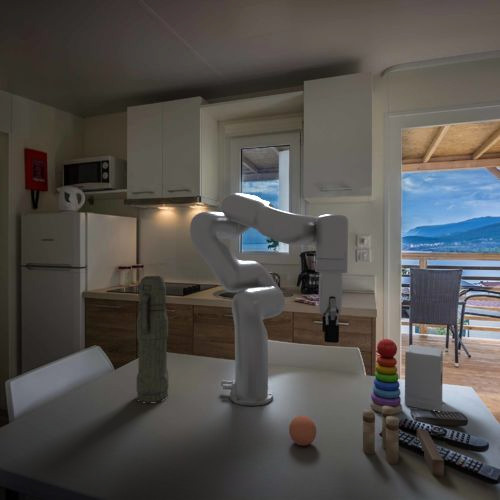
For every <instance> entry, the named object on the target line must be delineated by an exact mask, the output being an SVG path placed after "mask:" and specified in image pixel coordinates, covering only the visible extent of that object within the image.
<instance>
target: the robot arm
mask: <svg viewBox="0 0 500 500" xmlns="http://www.w3.org/2000/svg"><path fill="white" fill-rule="evenodd" d="M220 203H221V204H220V209H221V212H219V211H202V212H199V213H197V214H195V215H194V216H193V217H192V219H191V221H190V226H189V234H190V239H191V242H192V245H193V246H194V248H195V250H196V252H198V254H199V255H200V256H201V257H202V258H203V260H204V261H205V262H206V264H207V265H208V267H209V269H210V270H211V271H212V274H213V275H214V277H215V278H216V279H217V281H218V282H219V284H220V285H221V287H222V288H223V289H224V290H225V291H226V292H228V293H236V294H235V295H234V296H233V297H232V300H231V312H232V317H233V323H234V379H232V380H228V379H222V380H221V382H220V385H221V387H222V389H223V390H230V392H229V398H230V400H231V401H232V402H233V403H234V404H237V405H239V406H244V407H245V406H247V407H248V406H249V407H255V406H256V407H257V406H262V405H266V404H269V403H270V402H271V401H273V399H274V392H273V390H272V389H270V388H269V336H268V331H267V328H266V326H265V324H264V320H265V319H271V318H274V317H276V316H277V317H278V316H279V315H280V314H281V313H283V311H284V310H285V306H286V298H285V296H284V294H283V293H284V292H282V290H281V288H280V287H279V286H278V284H277V283H276V282H275V280H274V279H273V277H272V276H271V275H270V274H269V273H270V272H268V271H267V269H266V268H265V267H264V266H263V265H262V264H261V263H260V262H257V261H255V260H240V259H238V258H237V257H236V256H235V254H234V253H233V251H232V249H230V247H229V246H228V245H227V244H225V243H224V241H223V242H222V240H220V239H229V240H230V239H235V238H238V237H240V236H241V235H243V234H244V233H246V232H248V230H249V229H253V230H256V231H258V233H259V234H261V235H262V236H264V237H267V238H268V239H271V240H274V241H276V242H279V243H282V244H286V245H289V246H290V245H292V246H293V245H296V246H297V245H299V246H301V245H303V246H315V270H314V271H315V272H316V273H318V274H319V278H318V280H319V281H318V312H319V313H318V314H320V315H322V319H321V320H322V321H321V322H322V328H321V330H322V332H324V337H323V338H324V340H323V341H324V343H333V344H334V343H335V344H337V343H339V342H340V324H339V316H340V315H341V314H342V303H343V300H342V299H343V298H342V297H343V274H347V273H348V262H349V261H348V256H349V255H348V254H349V253H348V252H349V251H348V250H349V248H348V247H349V220H348V217H347V216H346V215H343V214H323V215H319V216H315V215H313V216H312V215H306V214H300V213H299V214H298V213H292V212H288V211H283V210H280V209H277V208H275V207H274V206H275V205H273V204H272V202H270V201H267V200H263V199H261V197H258V196H256V195H251V194H246V193H239V192H234V193H230V194H228V195H226V196H225V197H224V198H223V199H222V201H221V202H220Z"/></svg>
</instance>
